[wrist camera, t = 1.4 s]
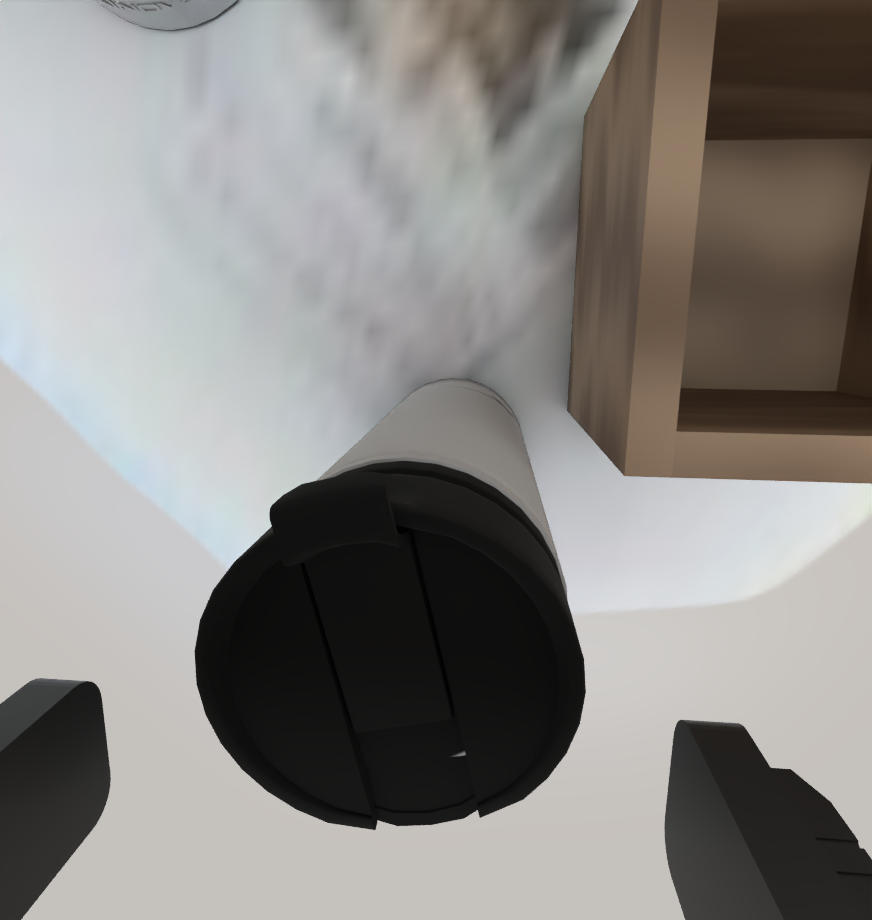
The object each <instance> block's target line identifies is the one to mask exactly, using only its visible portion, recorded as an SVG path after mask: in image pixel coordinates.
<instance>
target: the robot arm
mask: <svg viewBox="0 0 872 920" xmlns="http://www.w3.org/2000/svg"><path fill="white" fill-rule="evenodd" d="M96 1H98V2H99V3H100V4H101V5H103V6H104V7H105V8H107V9H108V10H110V11H111V12H113V13H115V14H116V15H118V16H120V17H121V18H123V19H124V20H126V21H129V22H132V23H135V24H138V25H140V26H143V27H146V28H153V29H163V30H175V29H182V28H189V27H194V26H196V25H199V24H201V23H203V22H206V21H208V20H210V19H213V18H215V17H216V16H217V15H219V14H220V13H222V12H223V11H224V10H226V9H227V8H228V7H230V6H231V5H232V4H234V2H235V1H236V0H96ZM110 779H111V778H110V767H109V758H108V749H107V740H106V732H105V723H104V714H103V705H102V697H101V693H100V690H99V688H98V687H97V685H96V684H95V683H93V682H89V681H74V680H57V679H42V678H40V679H35V680H32V681H30V682H29V683H27V684H26V685H24V686H23V687H22V688H21V689H19V690H18V691H17V692H15V693H14V694H13V695H11V696H10V697H9V698H8V699H6V700H5V701H4V702H2V703H1V704H0V920H21V919H22V918H23V916H24V915H25V914H26V913H27V911H28V910H29V908H31V906H32V905H33V904H34V902H35V901H36V900H37V899H38V897H39V896H40V895H41V894H42V892H43V891H44V890H45V889H46V887H47V886H48V885H49V883H50V882H51V881H52V879H53V878H54V877H55V876H56V875H57V873H58V872H59V871H60V870H61V868H62V867H63V866H64V865H65V863H66V862H67V861H68V860H69V858H70V857H71V855H72V854H73V853H74V852H75V851H76V849H77V848H78V847H79V846H80V844H81V843H82V842H83V840H84V839H85V838H86V837H87V835H88V834H89V833H90V832H91V830H92V829H93V828H94V826H95V825H96V824H97V822H98V820H99V818H100V816H101V814H102V812H103V810H104V807H105V805H106V801H107V798H108V794H109V789H110ZM665 844H666V853H667V859H668V865H669V869H670V873H671V877H672V880H673V883H674V886H675V889H676V892H677V895H678V899H679V902H680V904H681V908H682V911H683V914H684V917H685V920H872V859H871V858H870V856H869V855H868V854H867V852H866V851H865V849H861V848H860V847H859V845H858V840H857V838H856V837H855V835H854V834H853V833H852V831H851V830H850V829H849V827H848V826H847V824H846V823H845V821H844V820H843V819H842V817H841V816H840V814H839V813H838V812H837V810H836V809H835V808H834V806H833V805H832V803H831V802H830V801H829V800H827V799H826V798H825V797H824V796H823V795H821V794H820V793H819V792H818V791H817V790H815V789H814V788H813V787H812V786H810V785H809V784H808V783H807V782H805V781H804V780H803V779H802V778H801V777H799V776H798V775H797V774H796V773H794V772H793V771H792V770H791V769H778V768H777V769H776V768H770V767H769V765H768V763H767V761H766V760H765V758H764V757H763V755H762V753H761V752H760V751H759V749H758V747H757V746H756V744H755V742H754V741H753V739H752V738H751V736H750V735H749V733H748V731H747V730H746V729H745V727H744V726H742V725H741V724H739V723H723V722H707V721H691V720H680V721H678V723H677V725H676V727H675V731H674V738H673V747H672V756H671V767H670V776H669V785H668V795H667V804H666V814H665Z"/></svg>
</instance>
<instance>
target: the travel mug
mask: <svg viewBox="0 0 872 920" xmlns="http://www.w3.org/2000/svg"><path fill="white" fill-rule="evenodd" d="M270 521H271V525H272V527H271V528H270V529H269V530H268V531H267V532H266V533H265V534H264V535H263V536H261V537H260V538H259V539H258V540H257V541H256V542H255V543H254V544H253V545H252V546H251V547H250V548H249V549H248V550H247V551H246V552H245V553H244V554H243V555H242V556H240V557H239V558H238V559H237V560H236V561H235V562H234V563H233V565H232V566H231V567H230V569H229V570H228V571H227V572H226V574H225V575H224V576H223V578H222V579H221V580H220V582H219V583H218V584H217V586H216V587H215V588H214V590H213V592H212V594H211V596H210V599H209V601H208V603H207V606H206V608H205V610H204V612H203V615H202V617H201V619H200V624H199V630H198V636H197V641H196V647H195V662H196V663H195V664H196V678H197V679H196V680H197V686H198V690H199V693H200V697H201V700H202V703H203V707H204V710H205V714H206V716H207V718H208V720H209V722H210V724H211V725H212V727H213V729H214V731H215V733H216V735H217V736H218V738H219V740H220V742H221V744H222V745H223V746H224V748H225V749H226V750H227V751H228V753H229V754H230V755H231V756H232V757H233V759H234V760H235V761H236V762H237V764H238V765H239V766H240V767H241V769H242V770H243V771H245V772H246V773H247V774H248V775H249V776H250V777H252V778H253V779H254V780H255V781H256V782H257V783H258V784H260V785H261V786H262V787H263V788H264V789H265V790H266V791H268V792H269V793H271V794H273V795H274V796H276V797H277V798H279V799H281V800H282V801H284V802H286V803H287V804H289V805H290V806H292V807H294V808H295V809H297V810H299V811H302V812H304V813H307V814H309V815H311V816H313V817H316V818H318V819H321V820H323V821H325V822H327V823H333V824H340V825H346V826H353V827H360V828H366V829H373V830H375V829H376V825H377V820H379V821H382V822H386V823H389V824H393V825H396V826H409V825H410V826H411V825H433V824H438V823H442V822H448V821H452V820H458V819H463V818H465V817H467V816H468V815H470V814H472V813H473V812H475V811H476V810H478V812H479V816H480V818H481V817H483V816H485V815H487V814H490V813H492V812H495V811H497V810H499V809H502V808H504V807H506V806H509V805H511V804H514V803H516V802H518V801H521V800H523V799H524V798H525V797H527V795H529V794H530V793H531V792H532V791H533V790H535V789H536V788H537V787H538V786H539V785H540V784H541V783H543V782H544V781H545V780H546V779H547V778H548V777H549V776H550V774H551V773H552V771H553V770H554V769H555V768H556V766H557V765H558V764H559V762H560V761H561V760H562V758H563V757H564V756H565V754H566V753H567V751H568V749H569V747H570V744H571V742H572V740H573V737H574V735H575V733H576V731H577V729H578V727H579V724H580V720H581V713H582V709H583V704H584V698H585V693H586V690H585V670H584V658H583V654H582V651H581V647H580V644H579V640H578V637H577V633H576V629H575V626H574V622H573V619H572V615H571V612H570V608H569V605H568V601H567V589H566V583H565V580H564V576H563V573H562V570H561V566H560V563H559V559H558V556H557V552H556V549H555V546H554V542H553V539H552V535H551V532H550V529H549V525H548V522H547V518H546V515H545V511H544V508H543V505H542V501H541V498H540V494H539V491H538V488H537V484H536V481H535V477H534V474H533V470H532V467H531V464H530V460H529V457H528V453H527V450H526V447H525V443H524V440H523V436H522V433H521V430H520V426H519V423H518V420H517V418H516V416H515V415H514V413H513V411H512V409H511V408H510V407H509V405H508V404H507V403H506V402H505V400H504V399H503V398H502V397H500V396H499V395H498V394H497V393H495V392H494V391H493V390H491V389H489V388H488V387H486V386H484V385H482V384H480V383H477V382H473V381H470V380H465V379H454V378H453V379H443V380H438V381H434V382H431V383H428V384H426V385H424V386H422V387H420V388H418V389H416V390H415V391H414V392H412V393H411V394H410V395H409V396H408V397H406V398H405V399H404V400H403V401H402V402H401V403H400V404H399V405H398V406H397V407H395V408H394V409H393V410H392V411H391V412H390V413H389V414H388V415H387V416H386V417H385V418H384V419H383V420H381V421H380V422H379V423H378V424H377V425H376V426H375V427H374V428H373V429H372V430H371V431H370V432H369V433H367V434H366V435H365V436H364V437H363V438H362V439H361V440H360V441H359V442H358V443H357V444H356V445H354V446H353V447H352V448H351V449H350V450H349V451H348V452H347V453H346V454H345V455H344V456H343V457H342V458H340V459H339V460H338V461H337V462H336V463H335V464H334V465H333V466H332V467H331V468H330V469H329V470H328V471H326V472H325V473H324V474H323V475H322V476H321V477H320V478H319V479H318V480H317V481H314V482H310V483H305V484H301V485H300V486H298V487H296V488H295V489H293V490H291V491H290V492H288V493H286V494H284V495H283V496H282V497H281V498H280V499H278V500H277V501H276V502H275V503H274V504H273V505H272V506H271V508H270Z"/></svg>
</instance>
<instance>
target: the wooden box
mask: <svg viewBox="0 0 872 920" xmlns="http://www.w3.org/2000/svg"><path fill="white" fill-rule="evenodd" d="M567 411H568V412H569V413H570V414H571V416H572V417H573V418H574V419H575V420H576V421H577V422H578V424H579V425H580V426H581V427H582V428H583V429H584V430H585V432H586V433H587V434H588V435H589V436H590V437H591V438H592V440H593V441H594V442H595V443H596V444H597V445H598V446H599V448H600V449H601V450H602V451H603V452H604V453H605V454H606V456H607V457H608V458H609V459H610V460H611V461H612V462H613V464H614V465H615V466H616V467H617V468H618V469H619V470H620V472H621V473H622V474H623V475H624V476H643V477H676V478H709V479H742V480H775V481H808V482H842V483H872V0H639V1H638V3H637V5H636V7H635V9H634V11H633V13H632V16H631V18H630V20H629V22H628V24H627V26H626V28H625V31H624V33H623V35H622V37H621V39H620V41H619V43H618V45H617V48H616V50H615V52H614V54H613V56H612V58H611V60H610V63H609V65H608V67H607V69H606V71H605V73H604V75H603V78H602V80H601V82H600V84H599V86H598V88H597V90H596V93H595V95H594V97H593V99H592V101H591V103H590V105H589V108H588V110H587V112H586V114H585V116H584V130H583V148H582V165H581V182H580V200H579V217H578V234H577V252H576V269H575V286H574V303H573V321H572V338H571V355H570V373H569V390H568V407H567Z"/></svg>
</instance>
